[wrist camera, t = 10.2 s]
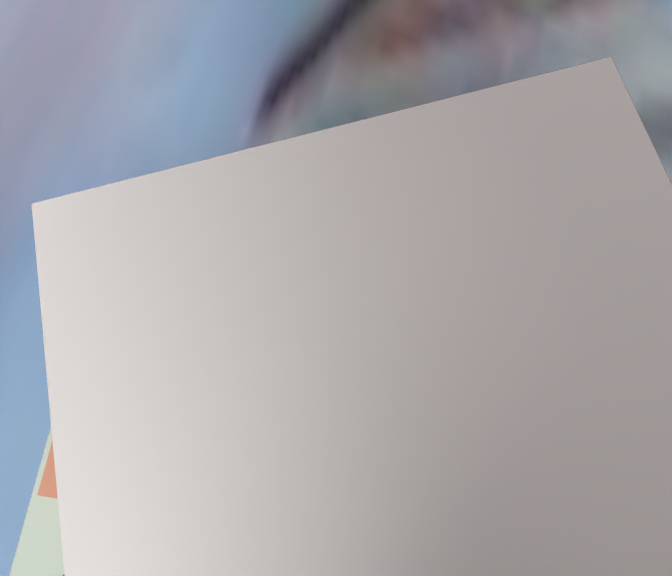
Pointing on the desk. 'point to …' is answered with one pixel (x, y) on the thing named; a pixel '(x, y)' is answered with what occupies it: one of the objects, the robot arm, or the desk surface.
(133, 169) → the desk surface
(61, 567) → the socket board
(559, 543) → the white upright block
